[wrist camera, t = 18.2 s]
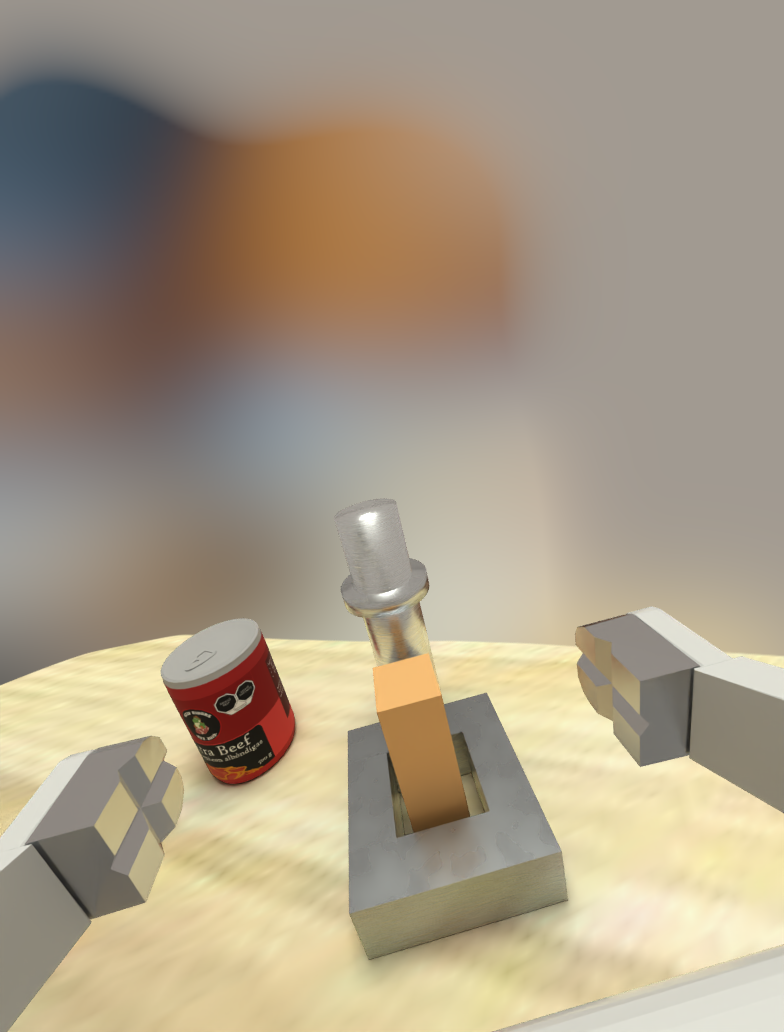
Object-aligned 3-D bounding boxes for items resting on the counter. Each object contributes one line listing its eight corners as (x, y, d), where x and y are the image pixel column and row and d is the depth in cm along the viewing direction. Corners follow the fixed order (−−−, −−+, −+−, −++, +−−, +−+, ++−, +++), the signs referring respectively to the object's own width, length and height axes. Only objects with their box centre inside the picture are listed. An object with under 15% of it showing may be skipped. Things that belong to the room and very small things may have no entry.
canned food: (192, 785, 33) (136, 683, 30) (244, 709, 40) (204, 619, 37) (270, 790, 31) (220, 681, 28) (310, 709, 38) (275, 614, 35)
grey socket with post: (567, 900, 21) (524, 572, 15) (368, 959, 21) (235, 649, 14) (473, 684, 36) (432, 480, 30) (358, 715, 36) (293, 516, 30)
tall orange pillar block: (476, 845, 24) (441, 695, 20) (422, 860, 24) (376, 712, 20) (461, 790, 28) (428, 653, 24) (413, 804, 27) (372, 667, 24)
